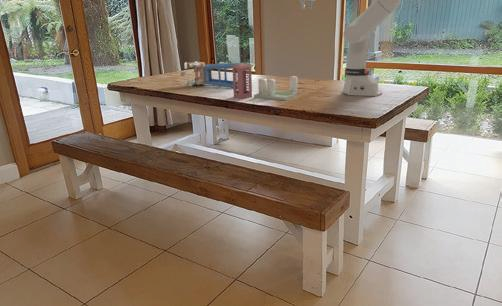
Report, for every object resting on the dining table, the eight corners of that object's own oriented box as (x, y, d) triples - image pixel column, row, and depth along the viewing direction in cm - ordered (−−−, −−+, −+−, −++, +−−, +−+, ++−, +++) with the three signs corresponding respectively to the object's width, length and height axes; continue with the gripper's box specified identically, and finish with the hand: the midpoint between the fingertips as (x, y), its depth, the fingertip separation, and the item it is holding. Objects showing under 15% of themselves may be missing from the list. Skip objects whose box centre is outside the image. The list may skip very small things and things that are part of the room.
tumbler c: (298, 93, 232) (298, 76, 229) (295, 94, 228) (295, 77, 225) (291, 92, 234) (291, 76, 231) (288, 94, 231) (288, 77, 227)
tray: (296, 96, 223) (296, 92, 223) (285, 101, 212) (285, 97, 211) (265, 94, 233) (265, 90, 232) (254, 98, 222) (254, 94, 221)
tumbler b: (268, 96, 224) (267, 78, 221) (264, 97, 220) (264, 80, 217) (261, 95, 226) (260, 78, 223) (257, 97, 223) (256, 79, 219)
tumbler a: (276, 96, 221) (276, 79, 218) (273, 98, 218) (272, 80, 214) (269, 96, 224) (269, 78, 220) (265, 97, 220) (265, 80, 216)
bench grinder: (189, 59, 277) (248, 60, 261) (191, 82, 283) (248, 85, 267) (177, 62, 262) (238, 64, 246) (179, 86, 268) (239, 90, 252)
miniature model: (245, 96, 231) (243, 61, 224) (253, 98, 223) (252, 63, 216) (232, 98, 226) (230, 63, 219) (240, 100, 219) (238, 65, 212)
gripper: (304, -19, 213) (304, 8, 217) (318, -16, 229) (318, 8, 234) (293, -18, 216) (294, 9, 220) (308, -15, 232) (308, 9, 237)
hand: (306, 9), depth 227 cm, fingers open, 8 cm apart
